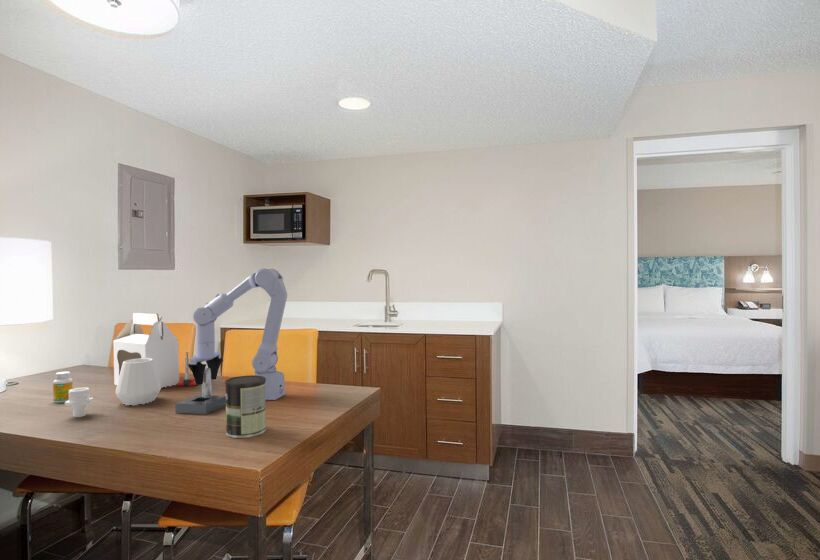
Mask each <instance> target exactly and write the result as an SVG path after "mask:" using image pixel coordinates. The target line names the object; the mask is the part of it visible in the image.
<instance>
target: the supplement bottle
mask: <svg viewBox="0 0 820 560" xmlns="http://www.w3.org/2000/svg"><path fill="white" fill-rule="evenodd" d="M70 376H71V372H70V371H58V372H56V373H55V378H56V379H54V380H53V384H52V388H53V389H52V391H53V393H52V394H53V398H52V399H53V403H55V404H60V403H61V404H62V403H65V402H66V401H68V400H69V393H68V392H69V390H71V389H74V386H73V385H74V384H73V382H74V381H73V380H74V379H73V378H71V377H70Z"/></svg>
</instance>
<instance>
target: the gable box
mask: <svg viewBox="0 0 820 560" xmlns="http://www.w3.org/2000/svg"><path fill="white" fill-rule="evenodd" d="M162 318H163V316H161V315H159V314H158V313H153V312H151V313H150V312H133V313H132V319H130V320H128V321H127V322H126V324H125V325H124V327H123V328H122V329H121V330H120V331H119V333H118V335H117V336H116V337H115V338H114V340H113V343H112V345H113V383H114V386H116V385H117V383H118V379H119V375H120V372H121V368H122V364H123V362H124V361H126V360H131V359H140V358H150V359H153V362H154V366H155V369H156V372H157V375H158V379H159V382H160V385H161V389H164V388H163V387H165V388H168V387H167V386H169V387H173V386H172V385H174V386H177V385H176V384H178V382H180V356H179V355H180V353H179V352H180V351H179V349H180V348H179V346H180V345H179V344H180V343H179V339H178V338H177V337H176V336H175V335H174V333H173V332H172V331H171V329H170V328H169V327H168V326H167V324H166V323H165V322H164V321H162ZM141 325H144V326H152V328H151V330H150V332H149V334H145V332H144V330H143V328H142V327H141Z"/></svg>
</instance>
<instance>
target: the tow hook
mask: <svg viewBox="0 0 820 560" xmlns="http://www.w3.org/2000/svg"><path fill="white" fill-rule="evenodd" d="M184 358H185V359H184V360H185V361H184V363H185V364H184V367H185V369H184V379H183V380H181V381H179V382H178V384H177V385H176V386H178V387H193V386H194V387H196V386H195V385H197V384H196V382H194V381H195V379H191V378H190V368H189V367H188V364H190V358H189V352H185V357H184Z"/></svg>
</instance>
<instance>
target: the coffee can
mask: <svg viewBox="0 0 820 560" xmlns="http://www.w3.org/2000/svg"><path fill="white" fill-rule="evenodd" d="M265 381H266V378H265V377H263V376H256V375H255V374H254V375H252V374H250V375H240V376H235V377H231V378H228V379H226V380H224V385H225V386H224V387H225V396H226V406H225V423H226V424H225V429H226V430H225V431H226V432H225V435H226V436H227V437H229V438H233V439H247V438H248V439H249V438H253V437H257V436H261V435H262V434H264V433H265V432H266V431H267V424H266V423H267V420H266V418H267V417H266V416H267V413H266V408H267V407H266V400H265Z"/></svg>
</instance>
